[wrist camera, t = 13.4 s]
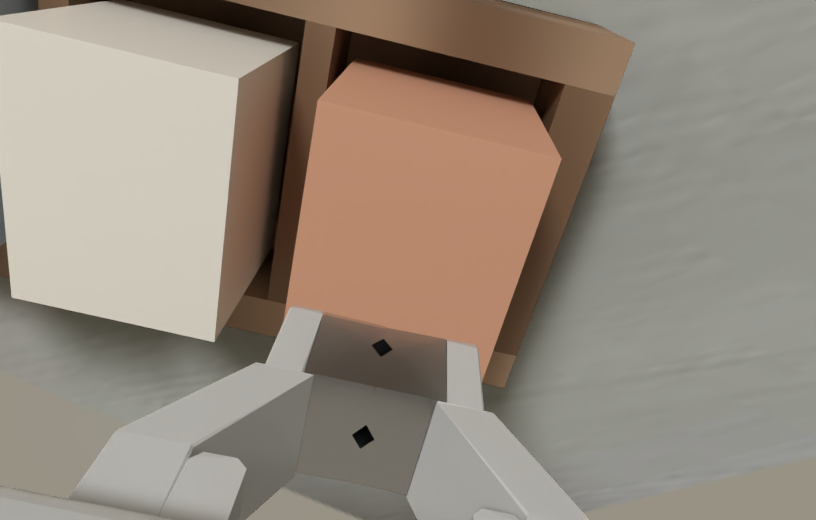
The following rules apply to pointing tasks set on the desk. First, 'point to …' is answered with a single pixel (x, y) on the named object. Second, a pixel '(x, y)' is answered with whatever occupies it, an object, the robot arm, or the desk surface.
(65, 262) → the ivory key
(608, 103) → the wooden compartment tray
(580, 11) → the desk surface
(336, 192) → the terracotta key
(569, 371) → the desk surface
